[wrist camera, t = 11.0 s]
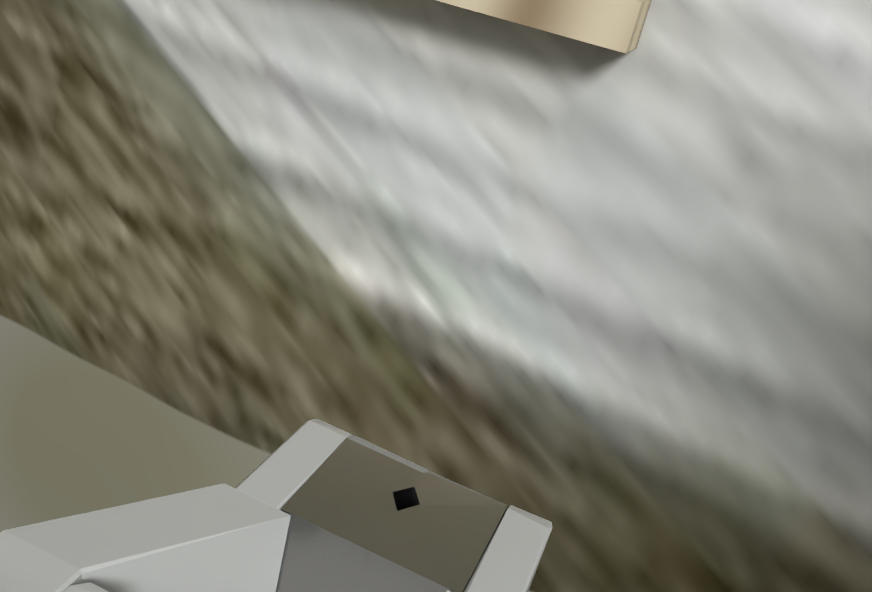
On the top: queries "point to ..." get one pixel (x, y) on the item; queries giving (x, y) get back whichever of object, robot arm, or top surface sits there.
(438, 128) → the top surface
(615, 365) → the top surface
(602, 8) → the twin tan bars
